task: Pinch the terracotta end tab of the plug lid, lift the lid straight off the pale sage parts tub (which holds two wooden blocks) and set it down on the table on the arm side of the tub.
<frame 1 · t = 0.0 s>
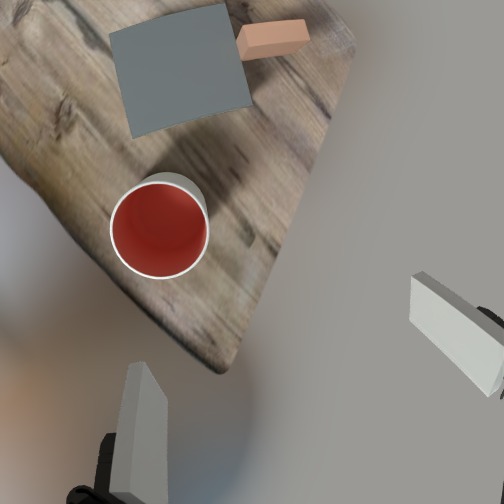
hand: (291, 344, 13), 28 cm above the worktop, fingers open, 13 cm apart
lid: (178, 65, 27), point 6 cm above the worktop, touching tub
cup: (167, 209, 38), on the worktop
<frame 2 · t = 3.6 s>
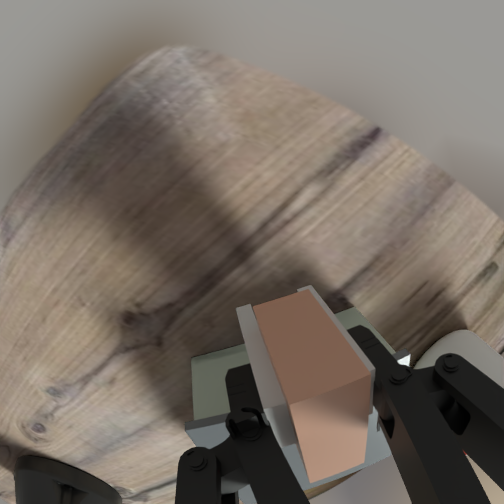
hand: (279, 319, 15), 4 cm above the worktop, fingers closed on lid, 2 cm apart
tub: (289, 389, 23), on the worktop
lid: (312, 446, 17), point 6 cm above the worktop, touching gripper, tub
cup: (437, 363, 26), on the worktop
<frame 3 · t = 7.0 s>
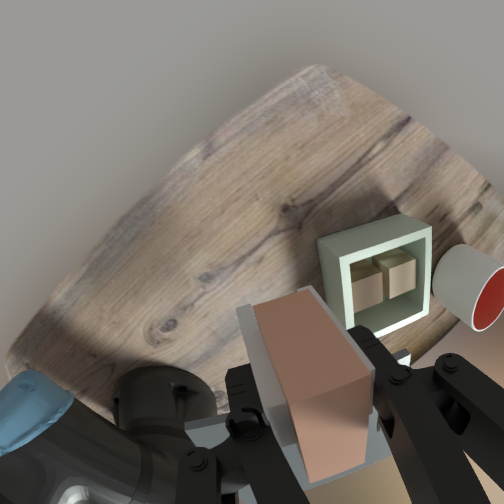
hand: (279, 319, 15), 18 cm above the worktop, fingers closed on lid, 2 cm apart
tub: (366, 269, 37), on the worktop
part b: (385, 266, 36), point 1 cm above the worktop, touching tub
lid: (312, 447, 17), point 20 cm above the worktop, touching gripper
cup: (449, 271, 40), on the worktop
part a: (351, 278, 36), point 1 cm above the worktop, touching tub
when the fingers open (1 cm above the worktop, at t = 10.5 s): lid drops 3 cm, point 1 cm above the worktop.
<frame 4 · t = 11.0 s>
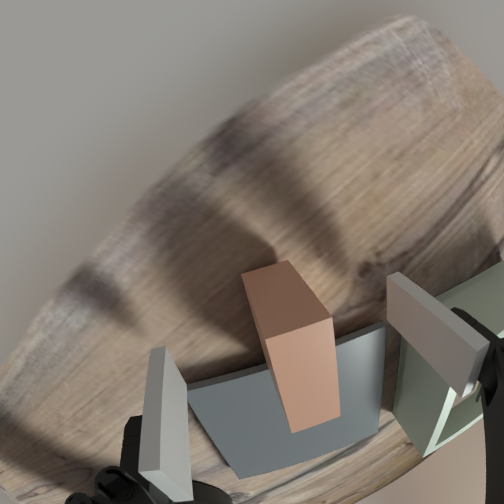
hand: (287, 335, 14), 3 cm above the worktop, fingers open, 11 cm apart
tub: (451, 342, 21), on the worktop
lid: (300, 416, 20), point 1 cm above the worktop
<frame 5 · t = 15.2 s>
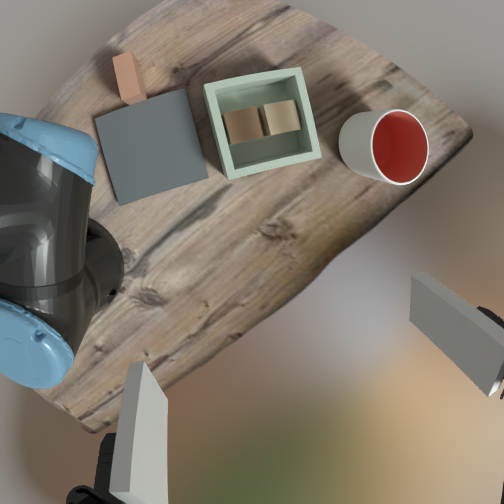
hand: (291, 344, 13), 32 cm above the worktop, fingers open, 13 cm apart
tub: (255, 123, 39), on the worktop
part b: (274, 119, 39), point 1 cm above the worktop, touching tub
lid: (150, 146, 37), point 1 cm above the worktop
cup: (363, 143, 43), on the worktop
part a: (239, 126, 38), point 1 cm above the worktop, touching tub
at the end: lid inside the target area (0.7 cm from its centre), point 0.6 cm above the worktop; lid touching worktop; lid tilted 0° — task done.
